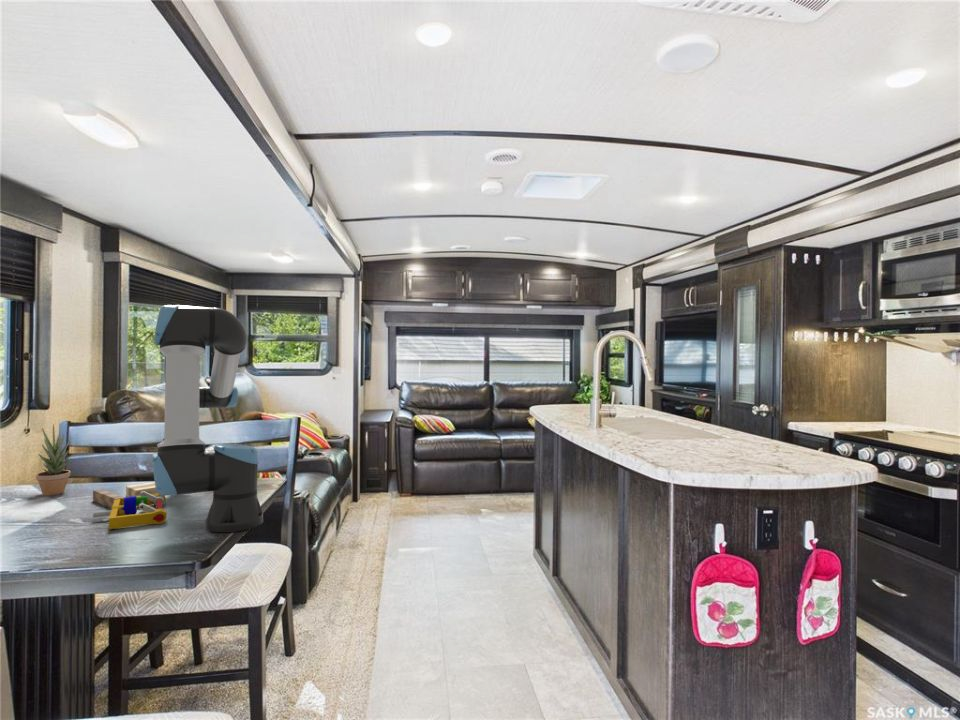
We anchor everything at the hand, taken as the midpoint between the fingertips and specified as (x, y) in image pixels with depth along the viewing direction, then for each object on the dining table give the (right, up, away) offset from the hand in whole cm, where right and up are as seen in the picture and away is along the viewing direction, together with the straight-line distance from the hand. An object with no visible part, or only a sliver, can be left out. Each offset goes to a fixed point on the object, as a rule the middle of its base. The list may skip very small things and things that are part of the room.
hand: (175, 488), depth 187 cm
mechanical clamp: (+3, -1, -29) cm, 29 cm away
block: (-7, -2, -7) cm, 9 cm away
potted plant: (-40, -1, -4) cm, 41 cm away
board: (-12, -1, -17) cm, 21 cm away
